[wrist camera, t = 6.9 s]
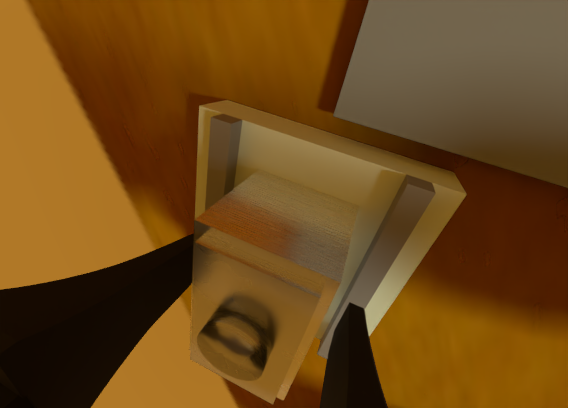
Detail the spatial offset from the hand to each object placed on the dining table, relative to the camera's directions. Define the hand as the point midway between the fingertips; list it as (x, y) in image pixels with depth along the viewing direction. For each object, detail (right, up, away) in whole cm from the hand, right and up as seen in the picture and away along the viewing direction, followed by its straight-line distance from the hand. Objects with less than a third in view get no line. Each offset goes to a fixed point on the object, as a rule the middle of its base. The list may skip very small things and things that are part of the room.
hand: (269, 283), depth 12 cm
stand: (+2, +2, +4) cm, 5 cm away
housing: (+1, +1, +2) cm, 3 cm away
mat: (+12, +9, -4) cm, 15 cm away
